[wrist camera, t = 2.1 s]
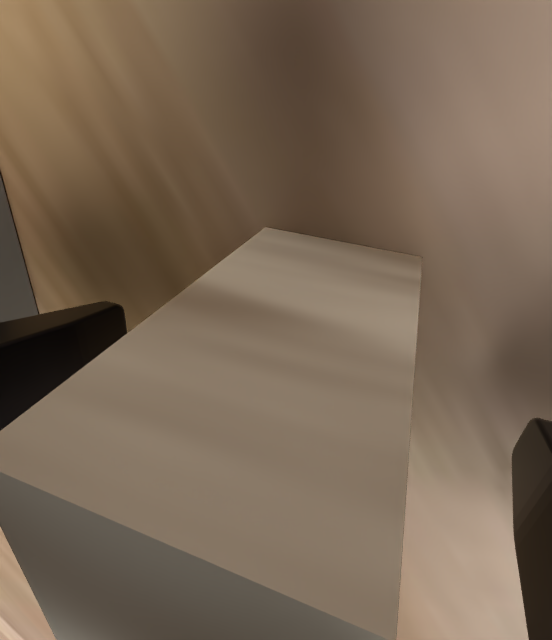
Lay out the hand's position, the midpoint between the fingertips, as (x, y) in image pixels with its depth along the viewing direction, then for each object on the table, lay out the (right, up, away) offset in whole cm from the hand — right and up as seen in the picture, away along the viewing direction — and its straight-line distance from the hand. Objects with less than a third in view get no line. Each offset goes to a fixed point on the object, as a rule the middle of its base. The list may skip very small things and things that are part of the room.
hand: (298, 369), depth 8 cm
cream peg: (+1, +1, +2) cm, 3 cm away
